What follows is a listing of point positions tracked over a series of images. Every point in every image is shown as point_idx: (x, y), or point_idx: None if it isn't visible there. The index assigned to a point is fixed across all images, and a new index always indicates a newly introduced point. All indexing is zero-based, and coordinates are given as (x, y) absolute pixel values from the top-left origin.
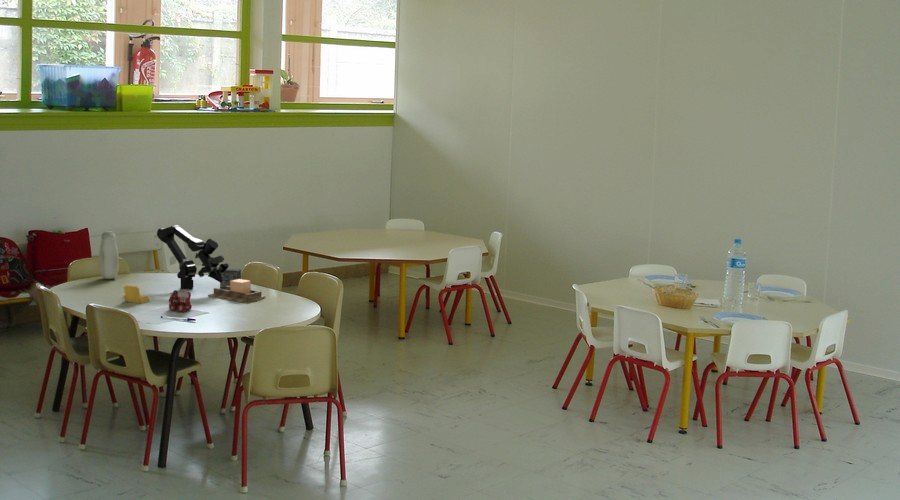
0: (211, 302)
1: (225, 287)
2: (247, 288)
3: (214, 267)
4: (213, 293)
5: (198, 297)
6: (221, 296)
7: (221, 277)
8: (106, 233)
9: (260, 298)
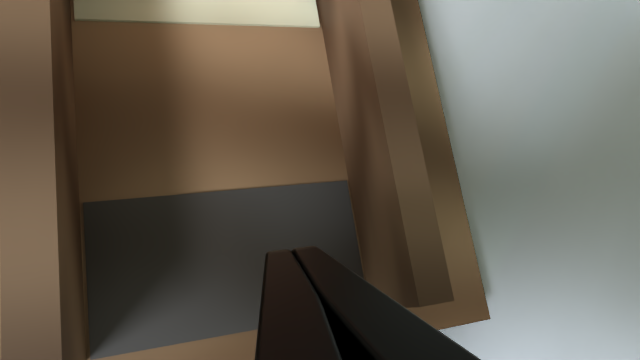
0: (591, 22)
1: (70, 354)
2: None
3: None
4: None
5: (598, 353)
6: (416, 71)
7: (273, 348)
8: None
9: None
